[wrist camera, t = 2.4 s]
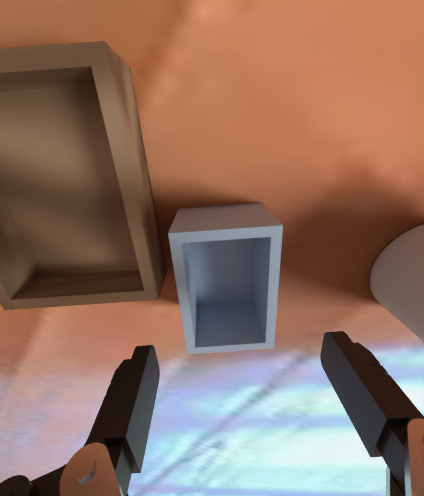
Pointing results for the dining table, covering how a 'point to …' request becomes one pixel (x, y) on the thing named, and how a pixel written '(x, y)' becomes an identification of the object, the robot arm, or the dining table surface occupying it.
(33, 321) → the dining table surface
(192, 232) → the small crate
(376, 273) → the mug
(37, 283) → the box
